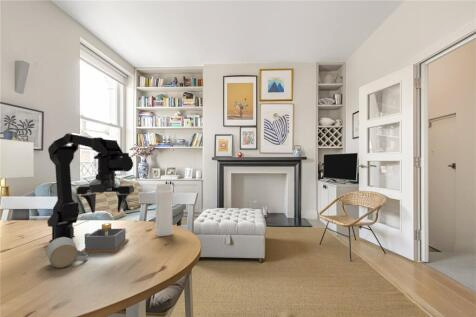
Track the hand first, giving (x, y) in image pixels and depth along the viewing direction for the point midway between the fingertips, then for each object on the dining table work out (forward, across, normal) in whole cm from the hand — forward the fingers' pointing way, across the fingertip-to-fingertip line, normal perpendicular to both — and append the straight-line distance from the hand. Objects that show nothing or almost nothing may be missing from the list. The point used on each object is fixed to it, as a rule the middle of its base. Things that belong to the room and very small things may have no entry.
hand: (106, 212), depth 92 cm
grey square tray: (+13, 0, 0) cm, 13 cm away
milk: (+13, +18, +15) cm, 27 cm away
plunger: (+11, 0, 0) cm, 11 cm away
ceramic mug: (+13, -6, -14) cm, 20 cm away
